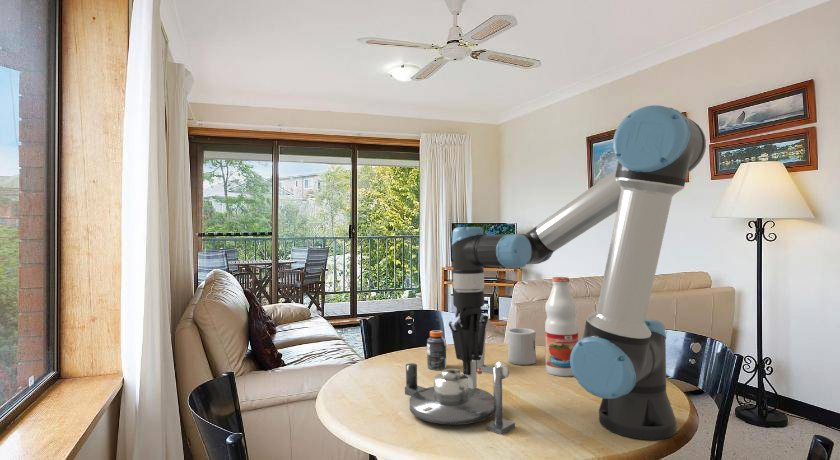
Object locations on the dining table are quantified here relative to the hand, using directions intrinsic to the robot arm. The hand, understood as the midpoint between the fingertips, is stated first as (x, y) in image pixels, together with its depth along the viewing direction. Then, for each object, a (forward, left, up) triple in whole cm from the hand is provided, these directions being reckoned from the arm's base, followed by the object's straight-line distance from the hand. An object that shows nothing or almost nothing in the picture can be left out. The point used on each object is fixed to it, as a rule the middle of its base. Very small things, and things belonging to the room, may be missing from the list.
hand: (470, 386), depth 115 cm
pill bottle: (+27, -17, -5) cm, 33 cm away
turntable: (+3, +7, -3) cm, 8 cm away
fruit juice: (-4, -38, -5) cm, 39 cm away
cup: (+18, -24, -5) cm, 31 cm away
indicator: (-11, +7, -4) cm, 14 cm away
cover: (0, +7, -1) cm, 7 cm away
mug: (+12, -41, -5) cm, 43 cm away
